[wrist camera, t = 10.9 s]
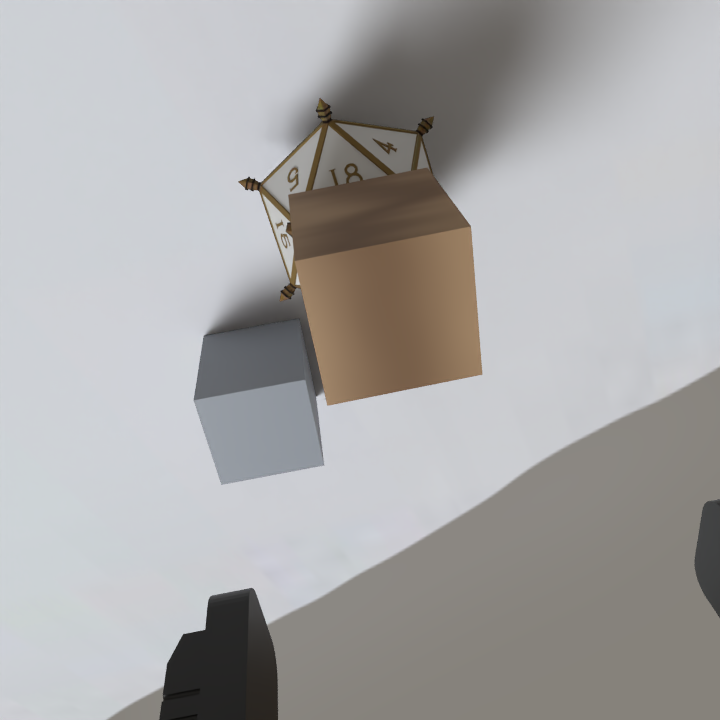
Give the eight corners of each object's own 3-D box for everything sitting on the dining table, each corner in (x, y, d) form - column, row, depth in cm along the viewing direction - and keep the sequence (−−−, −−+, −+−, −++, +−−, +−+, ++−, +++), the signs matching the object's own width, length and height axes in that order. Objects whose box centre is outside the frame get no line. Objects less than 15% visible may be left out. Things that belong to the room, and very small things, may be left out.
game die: (350, 124, 35) (482, 46, 26) (401, 285, 36) (541, 263, 27) (186, 163, 30) (278, 86, 22) (250, 345, 32) (360, 340, 23)
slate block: (299, 317, 36) (305, 379, 31) (316, 396, 38) (323, 465, 33) (203, 335, 35) (193, 400, 30) (227, 412, 38) (221, 484, 33)
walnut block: (427, 167, 24) (470, 226, 19) (440, 293, 27) (482, 374, 22) (288, 194, 24) (294, 260, 19) (315, 317, 27) (327, 405, 22)
